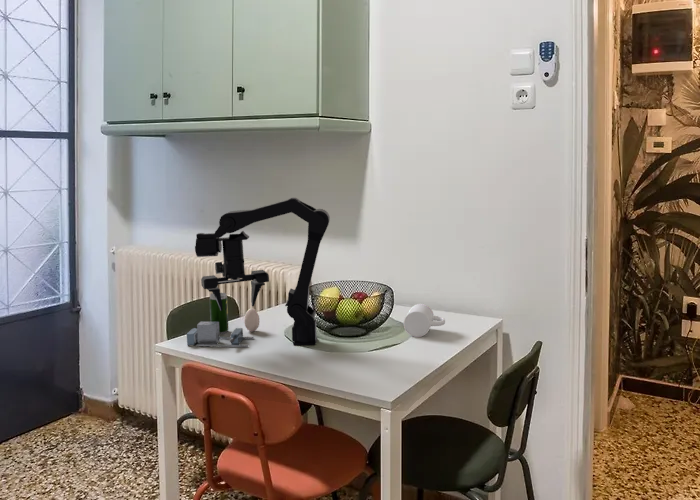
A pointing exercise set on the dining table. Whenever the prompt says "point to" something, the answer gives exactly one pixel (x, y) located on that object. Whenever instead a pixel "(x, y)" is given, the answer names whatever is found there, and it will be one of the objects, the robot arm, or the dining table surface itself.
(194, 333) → the vise bed
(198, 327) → the steel block
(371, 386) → the dining table surface
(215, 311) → the green soda can
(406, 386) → the dining table surface
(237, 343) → the block
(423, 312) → the mug
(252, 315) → the egg
